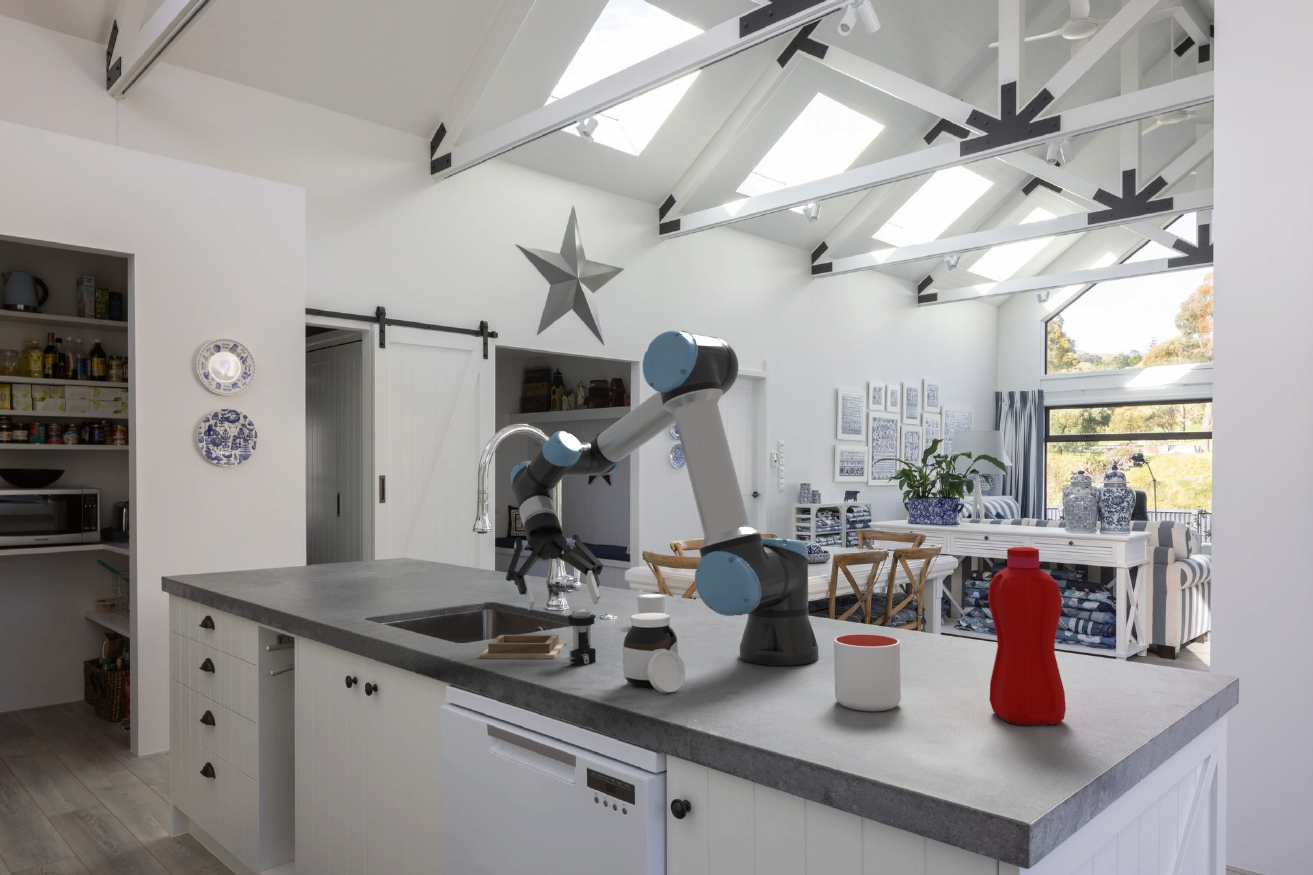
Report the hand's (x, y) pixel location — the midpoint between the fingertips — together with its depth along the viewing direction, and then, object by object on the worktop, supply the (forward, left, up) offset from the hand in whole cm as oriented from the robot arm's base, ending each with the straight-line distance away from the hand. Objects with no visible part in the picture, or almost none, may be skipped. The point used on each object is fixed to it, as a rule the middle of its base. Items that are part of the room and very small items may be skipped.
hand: (564, 603), depth 173 cm
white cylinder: (+23, -30, -11) cm, 39 cm away
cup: (-54, -31, -11) cm, 63 cm away
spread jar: (-28, -7, -11) cm, 31 cm away
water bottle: (-70, -47, -11) cm, 85 cm away
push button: (-6, -1, -11) cm, 13 cm away
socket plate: (+10, +5, -11) cm, 15 cm away
